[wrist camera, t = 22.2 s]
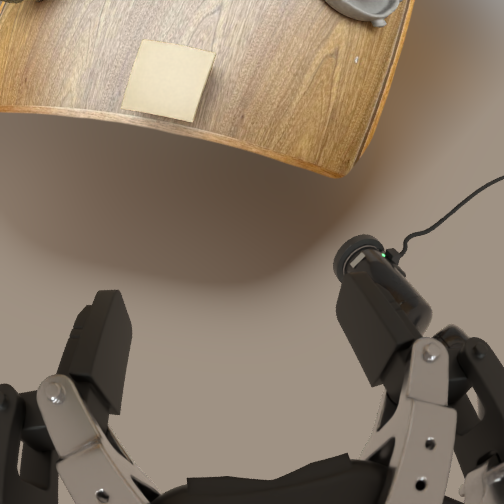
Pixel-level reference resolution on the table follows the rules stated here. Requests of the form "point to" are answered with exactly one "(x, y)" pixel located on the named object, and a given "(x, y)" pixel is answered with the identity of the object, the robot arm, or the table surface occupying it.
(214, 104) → the table surface
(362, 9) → the dish
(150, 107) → the stand
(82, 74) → the table surface
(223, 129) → the table surface
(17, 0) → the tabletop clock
